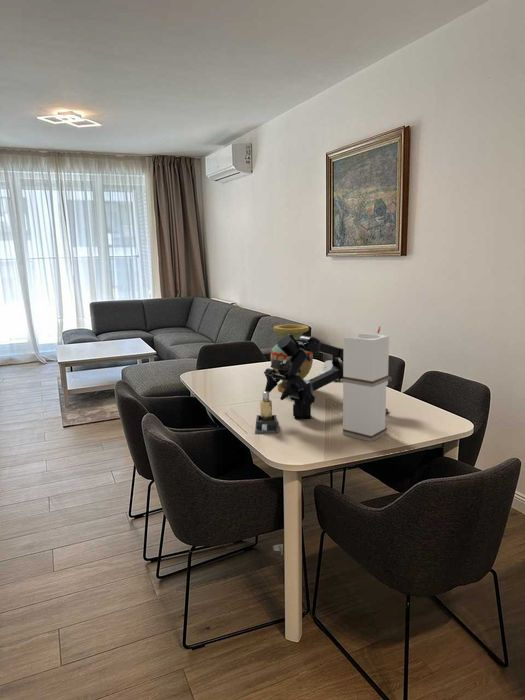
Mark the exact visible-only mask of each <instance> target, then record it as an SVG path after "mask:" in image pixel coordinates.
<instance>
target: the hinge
mask: <svg viewBox="0 0 525 700" xmlns="http://www.w3.org/2000/svg"><path fill="white" fill-rule="evenodd" d="M332 360H333V359H332ZM332 360H324V363H323V366H322V368H321V370H320V371H319V372H318V375H317V376H319V375H321V374H323V373H325V372H327V371H329V370H331V368H332V366H333V364H332ZM336 381H339V382H343V379H337V380H336ZM332 383H335V381H333V382H332Z"/></svg>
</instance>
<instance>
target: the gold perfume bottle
mask: <svg viewBox="0 0 525 700" xmlns="http://www.w3.org/2000/svg"><path fill="white" fill-rule="evenodd" d="M261 394H262V399H261V400H259V401H260V402H259V403H260V406H259V407H260V415H261V421H272V415H273V404H272V403H273V401H272V400H271V399H270V393H269V392H268V391H265V390H264V391H262V393H261Z"/></svg>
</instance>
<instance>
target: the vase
mask: <svg viewBox="0 0 525 700" xmlns="http://www.w3.org/2000/svg"><path fill="white" fill-rule="evenodd" d="M309 330H310V326H309V325H306V324H293V323H292V324H280V325H279V324H278V325H274V326H273V331H274V332H275V333H278V334H279V336H280V339H281V338H283V337H285V336H287V334H292V336H293V337H294V339H295V340H297V339H299V338H300V337H301V336H304V335H303V334H304V333H306V332H308V331H309ZM277 344H278V343H277ZM277 344H275V345H274V346H273V347H272V349H271V352H270V364H272V360H273V359H275V360H279V361H284V360H288V359H289V358H290V356H286V355H285V354H284V353H283V351H282V350H281V349H280V348H279V347H278V345H277ZM303 351H304V350H303ZM304 352H305V353H306V354H310V360H311V361H305V362H304V363H303V365H302V366H301V368H300V370H301V372H300V373H297V374H296V375H298V376H300V377H301V378H302V379H305V378H306V377H307V376H308V374H310V371H311V369H312V366H313V361H314V360H313V359H314V356H313V355H314V352H309V351H304ZM272 369H274V370H275V371H276V372H277V373H278V374H280V373H279V372H278V371H277V369H275V368H272ZM282 378H283V377H282ZM276 387H277V391H278V392H280V393H283V392H284V390H285V388H286V387H287V381H283V380H281V382H279V383H278V385H277V386H276Z"/></svg>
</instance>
